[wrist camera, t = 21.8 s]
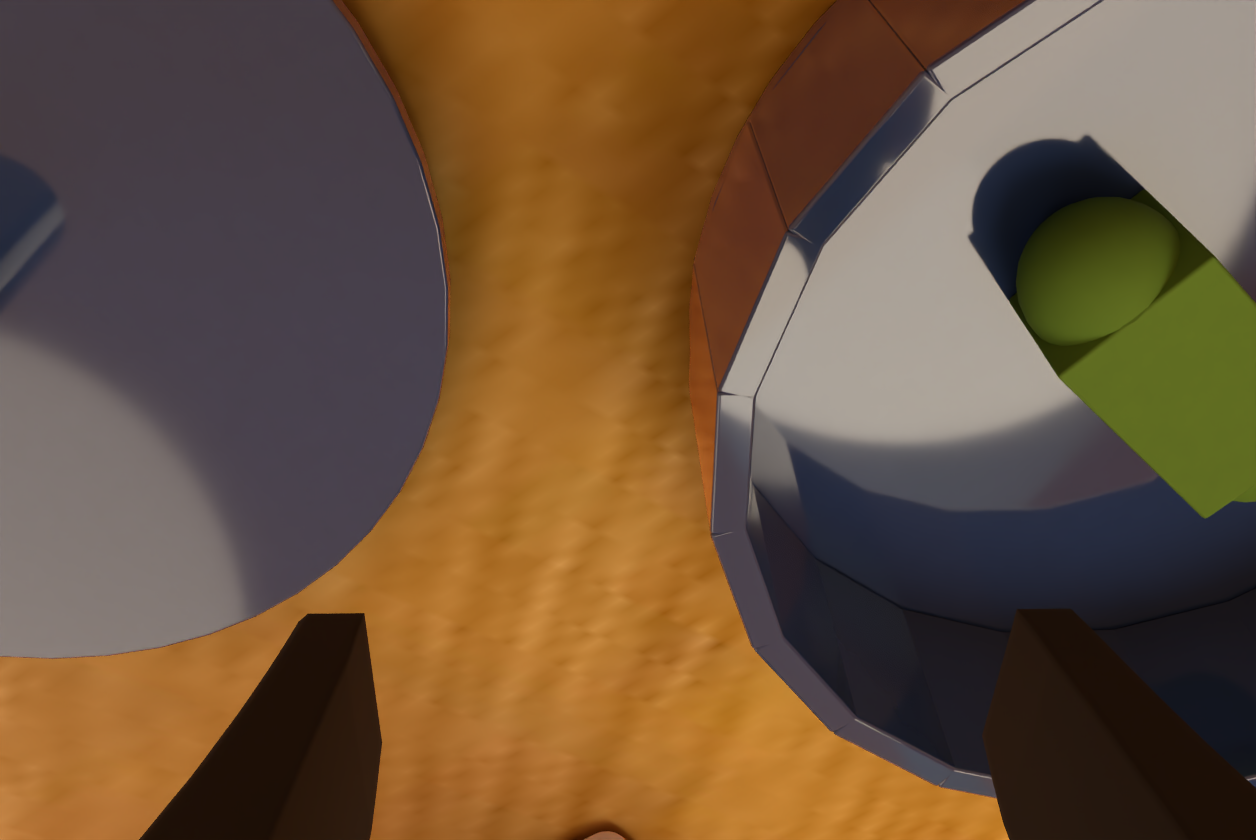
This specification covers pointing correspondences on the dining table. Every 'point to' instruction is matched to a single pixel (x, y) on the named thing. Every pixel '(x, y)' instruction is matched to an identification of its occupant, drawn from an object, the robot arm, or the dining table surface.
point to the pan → (962, 364)
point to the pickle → (1149, 340)
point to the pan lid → (202, 312)
